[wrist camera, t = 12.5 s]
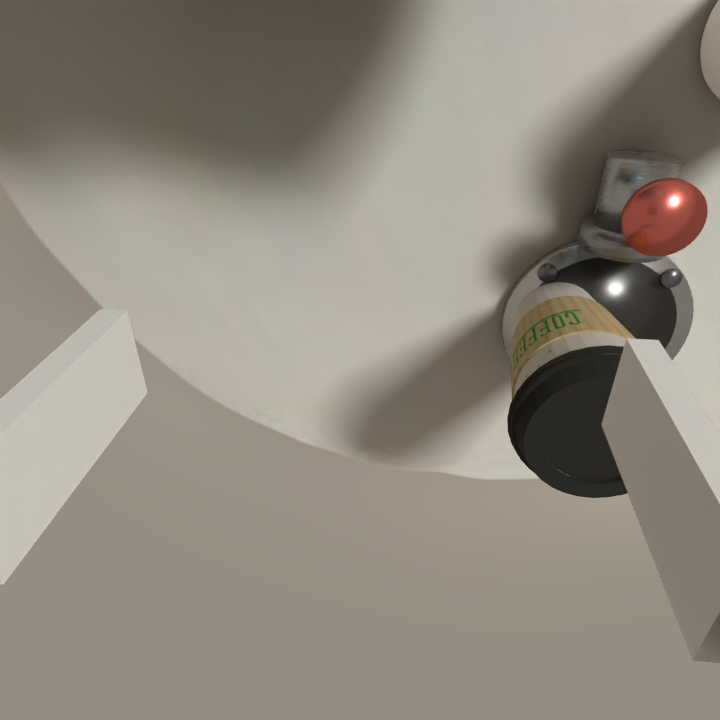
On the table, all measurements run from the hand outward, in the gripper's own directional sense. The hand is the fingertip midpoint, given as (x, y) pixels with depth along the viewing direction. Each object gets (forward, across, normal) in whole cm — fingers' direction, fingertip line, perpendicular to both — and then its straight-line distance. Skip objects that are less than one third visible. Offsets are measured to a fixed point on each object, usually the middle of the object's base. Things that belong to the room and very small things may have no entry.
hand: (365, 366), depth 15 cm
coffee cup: (+28, +12, -12) cm, 32 cm away
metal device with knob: (+29, +15, -10) cm, 34 cm away
